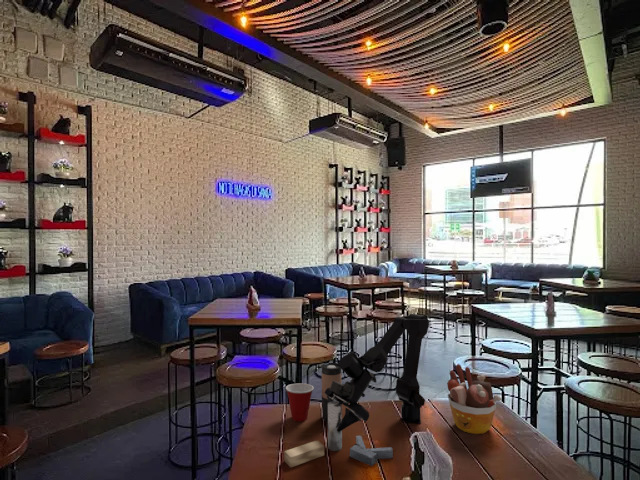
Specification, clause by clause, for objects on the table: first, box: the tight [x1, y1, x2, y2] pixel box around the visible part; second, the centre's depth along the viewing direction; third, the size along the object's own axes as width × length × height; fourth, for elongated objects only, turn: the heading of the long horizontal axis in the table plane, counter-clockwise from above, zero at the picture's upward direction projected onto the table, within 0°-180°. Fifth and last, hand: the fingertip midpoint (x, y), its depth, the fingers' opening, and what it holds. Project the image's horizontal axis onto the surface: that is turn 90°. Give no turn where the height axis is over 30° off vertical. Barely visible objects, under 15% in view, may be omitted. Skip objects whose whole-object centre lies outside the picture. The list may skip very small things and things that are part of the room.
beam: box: [283, 439, 325, 468], centre depth 116 cm, size 12×4×3 cm, turn 123°
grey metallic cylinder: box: [327, 401, 343, 452], centre depth 122 cm, size 5×5×14 cm
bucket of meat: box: [446, 363, 502, 435], centre depth 136 cm, size 20×16×20 cm
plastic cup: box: [285, 383, 314, 423], centre depth 143 cm, size 11×11×12 cm
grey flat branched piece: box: [349, 435, 394, 467], centre depth 118 cm, size 9×14×2 cm, turn 51°
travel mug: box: [321, 362, 342, 421], centre depth 143 cm, size 8×8×20 cm
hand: (331, 426), depth 122 cm, fingers open, 7 cm apart
